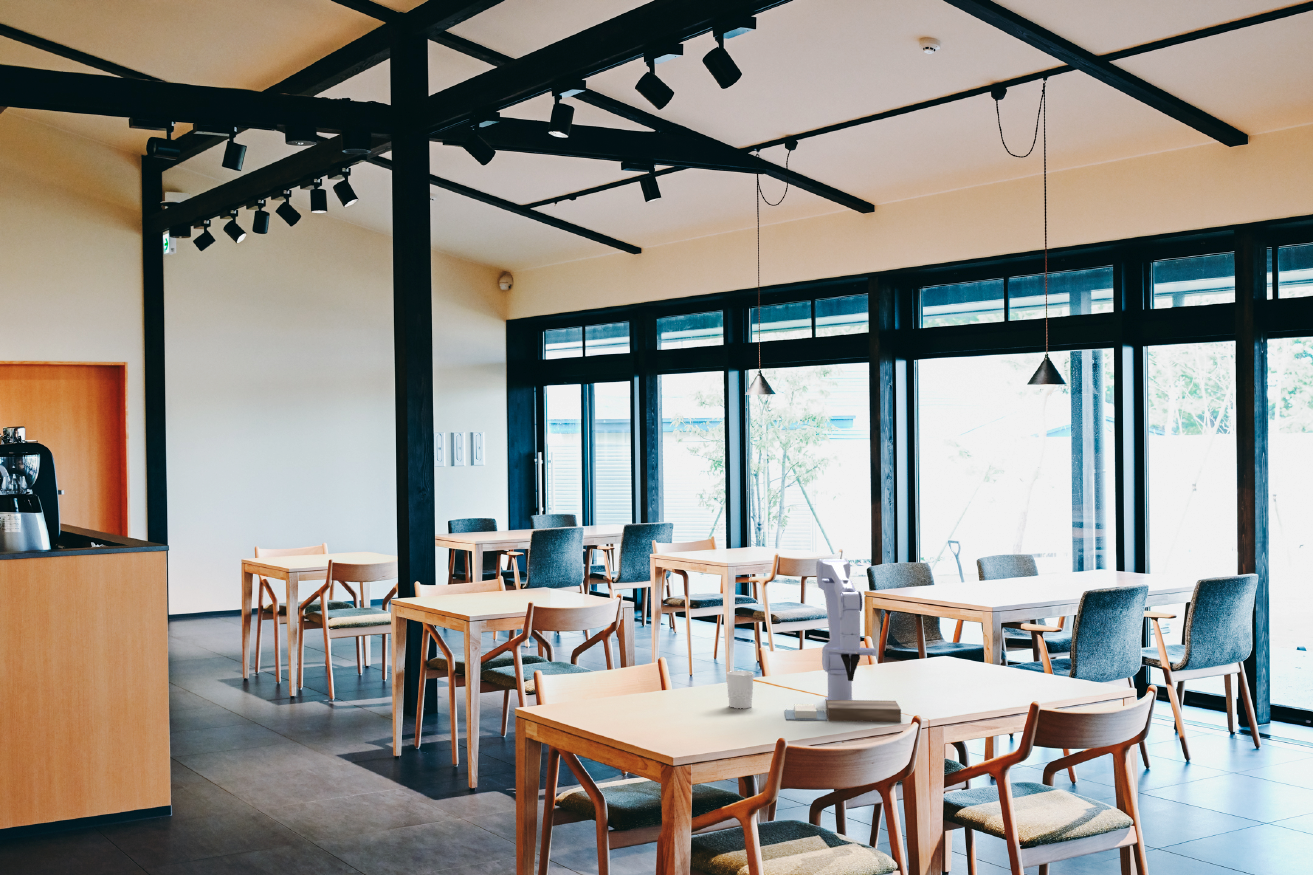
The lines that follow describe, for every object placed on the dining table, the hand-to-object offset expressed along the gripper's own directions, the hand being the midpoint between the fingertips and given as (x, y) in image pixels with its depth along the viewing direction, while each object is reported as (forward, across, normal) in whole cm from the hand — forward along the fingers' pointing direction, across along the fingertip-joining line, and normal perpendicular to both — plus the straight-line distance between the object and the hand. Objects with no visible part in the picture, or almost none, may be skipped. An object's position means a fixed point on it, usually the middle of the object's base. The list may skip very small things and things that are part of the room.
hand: (850, 680), depth 338 cm
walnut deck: (+9, +3, -5) cm, 11 cm away
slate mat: (+9, -13, -5) cm, 17 cm away
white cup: (+10, -32, +7) cm, 34 cm away
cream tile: (+7, -13, -5) cm, 16 cm away
